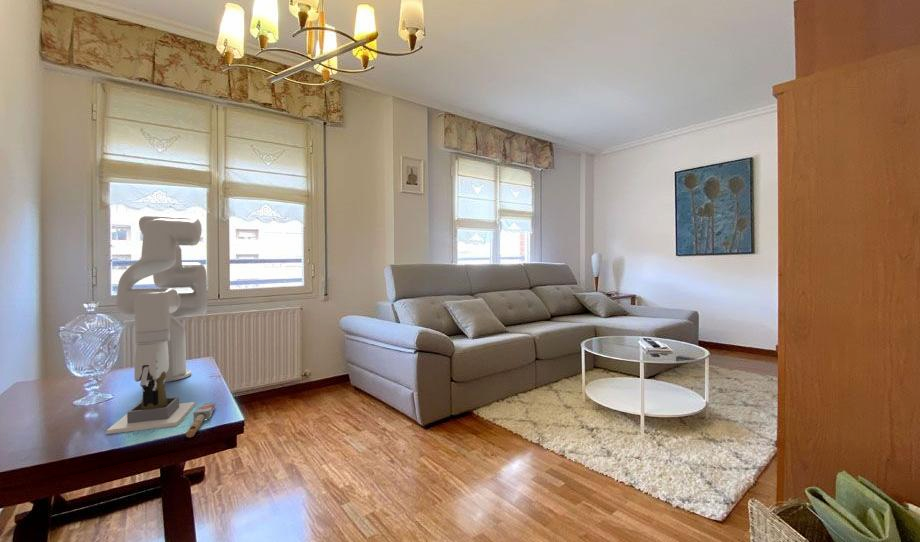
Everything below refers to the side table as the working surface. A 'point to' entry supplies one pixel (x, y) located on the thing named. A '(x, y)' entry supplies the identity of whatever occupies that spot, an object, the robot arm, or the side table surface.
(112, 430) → the beige square socket base
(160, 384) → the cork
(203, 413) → the paintbrush
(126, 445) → the side table surface
